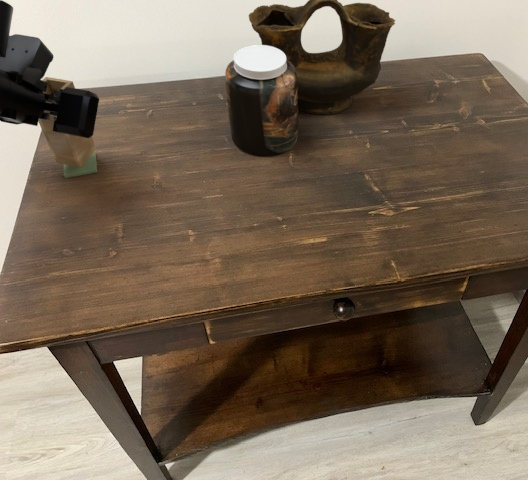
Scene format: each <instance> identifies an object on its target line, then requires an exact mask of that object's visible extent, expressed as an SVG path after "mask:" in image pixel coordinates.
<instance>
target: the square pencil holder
mask: <svg viewBox="0 0 528 480" xmlns="http://www.w3.org/2000/svg"><path fill="white" fill-rule="evenodd" d="M41 80H42V81H45V82H47V83H48V85H47V91H46V92H43V93H44V94H51V93H52V92H53V91H59V90H60V89H63V90H64V89H65V88H66V87H70V88H75V89H76V86H75V84H74V82H73V80H68V79H62V78H56V77H50V76H44V77H43V78H42V79H41ZM53 102H55V101H53ZM46 103H52V102H50V101H49V102H46ZM44 112H46V113H50V112H49V111H44ZM54 117H55V116H51V115H50V119H49V120H43V119H38V125H39V126H40V129H41V132H42V133H43V136H44V138H45V140H46V142H47V143H46V144H47V145H48V147H49V149H50V152H51V155H52V156H53V159H54V161H55V163H57V164H62V165H64V164H65V165H71V166H76V167H82V166H83V164H84V163H85V162H86V161H87V160H88V159H89V158H90V156H91V155H92V154H93V153H94V152H95V153H96V151H97V147H96V144H95V141H94V138H93V136H91V137H90V138H84V137H78V136H73V135H69V134H64V133H59V132H54V131H53V125H54V119H53V118H54Z"/></svg>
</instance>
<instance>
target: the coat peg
mask: <svg viewBox="0 0 528 480" xmlns="http://www.w3.org/2000/svg"><path fill="white" fill-rule="evenodd" d="M97 163H98V162H97V153H96V151H95V152H94V153H93V154H92V155H91V156H90V158H89V159H88V160H87V161H86V162H85V163H84V164H83V166H82V167H76V166H71V165H65V164H63V177H64V179H68V178H73V177H79V176H85V175H91V174H97V173H98V164H97Z"/></svg>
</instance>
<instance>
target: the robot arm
mask: <svg viewBox="0 0 528 480" xmlns="http://www.w3.org/2000/svg"><path fill="white" fill-rule="evenodd" d="M13 14H14V7H13V6H12V5H11V4H10V3H8V2H7V1H4V0H0V122H1V123H7V124H11V125H23V124H25V125H29V126H35V127H38V125H39V122H38V119H43V120H49V119H50V115H51V116H55V117H54V118H53V119H54V125H53V131H54V132H59V133H64V134H69V135H73V136H78V137H84V138H90V137H91V136H92V137H93V136H94V131H95V126H96V121H97V114H98V109H99V104H100V103H99V102H100V98H99V96H98V94H96V93H95V92H93V91H90V90H86V89H81V88H76V87H75V88H70V87H66V88H65V89H64V90H63V89H60V90H59V91H53V92H52V93H51V94H44V93H43V92H46V91H47V85H48V83H47V82H45V81H42V80H43V79H44V78H45V75H46V73H47V71H48V68H49V66H50V64H51V63H52V62H53V61H54V54H53V53H52V52H51V50H50V49H49V48H48V47H47V46H46V44H45V43H44V42H43V41H42V40H41V39H40V38H39V37H36V36H30V35H25V34H18V33H15V34H12V35H10V33H11V28H12V27H11V26H12V20H13ZM49 101H50V102H52V103H46V102H49ZM53 101H55V102H53ZM44 111H49V112H50V113H46V112H44Z"/></svg>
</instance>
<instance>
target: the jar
mask: <svg viewBox="0 0 528 480" xmlns="http://www.w3.org/2000/svg"><path fill="white" fill-rule="evenodd" d="M224 73H225V74H224V80H225V92H226V93H225V94H226V102H227V110H228V119H229V127H230V134H231V140H232V142H233V143H234V145H235V146H236V147H237V148H238V149H239V150H241V151H242V152H245V153H247V154H249V155H253V156H258V157H273V156H278V155H282V154H285V153H286V152H288V151H289V150H291V149H292V148H294V146H296V144H297V141H298V137H299V109H298V88H297V74H296V70H295V68H294V66H293V65H292V64H291V63H290V62H289V61H288V60H286V55H285V54H284V52H282V51H281V50H279V49H278V48H275V47H272V46H267V45H262V44H253V45H248V46H244V47H242V48H240V49H238V50H236V52H235V53H234V55H233V60H231V61H230V62H229V63H228V64H227V66H226V68H225V72H224Z"/></svg>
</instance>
